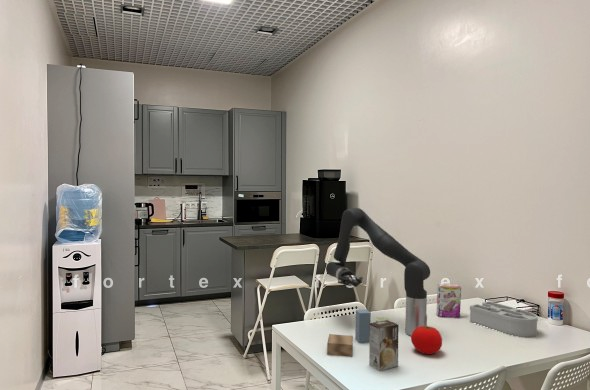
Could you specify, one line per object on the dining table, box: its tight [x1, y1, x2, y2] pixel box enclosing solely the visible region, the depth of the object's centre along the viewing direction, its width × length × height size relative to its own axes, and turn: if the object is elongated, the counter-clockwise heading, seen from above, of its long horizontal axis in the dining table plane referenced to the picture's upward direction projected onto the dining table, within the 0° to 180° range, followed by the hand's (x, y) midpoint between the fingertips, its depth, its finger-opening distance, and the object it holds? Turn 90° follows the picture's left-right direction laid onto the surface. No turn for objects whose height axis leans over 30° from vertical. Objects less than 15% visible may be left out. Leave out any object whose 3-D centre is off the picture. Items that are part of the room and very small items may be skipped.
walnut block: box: [326, 333, 354, 357], centre depth 173 cm, size 10×10×5 cm
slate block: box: [354, 308, 371, 344], centre depth 184 cm, size 5×5×13 cm
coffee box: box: [368, 319, 399, 372], centre depth 159 cm, size 9×6×16 cm
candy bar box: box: [436, 283, 462, 318], centre depth 220 cm, size 11×5×16 cm, turn 84°
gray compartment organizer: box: [469, 300, 539, 338], centre depth 204 cm, size 17×28×9 cm, turn 33°
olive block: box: [375, 317, 390, 322], centre depth 173 cm, size 5×5×13 cm
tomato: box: [410, 325, 443, 355], centre depth 173 cm, size 11×12×10 cm
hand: (356, 284), depth 193 cm, fingers closed
